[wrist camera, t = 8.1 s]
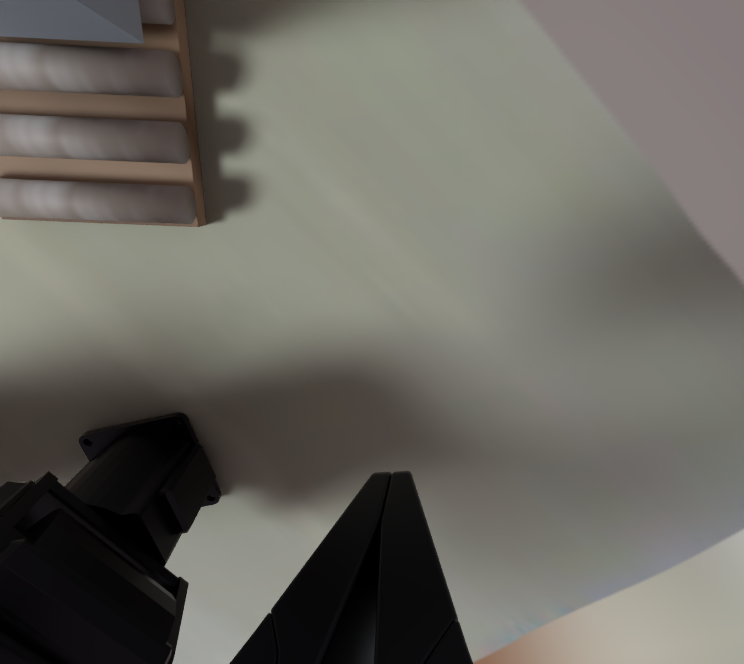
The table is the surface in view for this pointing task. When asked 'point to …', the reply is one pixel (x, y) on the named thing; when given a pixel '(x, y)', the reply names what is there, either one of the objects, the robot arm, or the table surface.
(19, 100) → the roller track
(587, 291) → the table surface
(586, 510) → the table surface
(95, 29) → the slab
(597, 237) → the table surface
